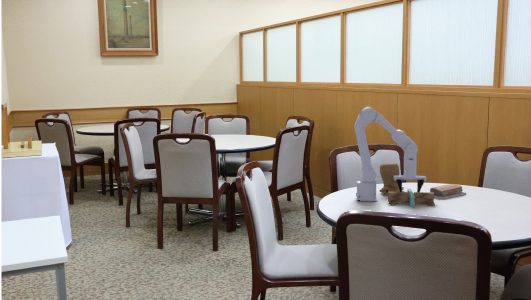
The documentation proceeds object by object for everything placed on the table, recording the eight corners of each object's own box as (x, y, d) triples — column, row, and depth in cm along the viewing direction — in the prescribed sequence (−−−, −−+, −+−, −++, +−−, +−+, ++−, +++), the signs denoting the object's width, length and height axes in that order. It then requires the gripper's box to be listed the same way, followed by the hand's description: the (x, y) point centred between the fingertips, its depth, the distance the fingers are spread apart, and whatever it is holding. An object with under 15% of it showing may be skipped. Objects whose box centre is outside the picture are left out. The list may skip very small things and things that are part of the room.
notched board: (388, 204, 215) (389, 194, 214) (387, 200, 223) (388, 190, 222) (434, 205, 211) (435, 195, 210) (432, 201, 219) (432, 190, 218)
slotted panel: (414, 207, 209) (414, 196, 208) (410, 207, 209) (411, 196, 209) (410, 198, 225) (410, 188, 224) (407, 198, 225) (407, 188, 224)
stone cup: (384, 188, 247) (384, 160, 245) (406, 190, 240) (407, 162, 238) (373, 194, 235) (373, 164, 233) (396, 197, 228) (396, 166, 226)
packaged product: (449, 182, 238) (466, 185, 230) (449, 191, 239) (466, 195, 230) (424, 186, 230) (441, 190, 221) (424, 196, 230) (440, 200, 222)
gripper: (425, 165, 223) (424, 193, 225) (393, 165, 226) (393, 192, 228) (427, 168, 216) (426, 197, 218) (394, 168, 219) (394, 196, 221)
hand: (409, 195), depth 222 cm, fingers open, 7 cm apart
